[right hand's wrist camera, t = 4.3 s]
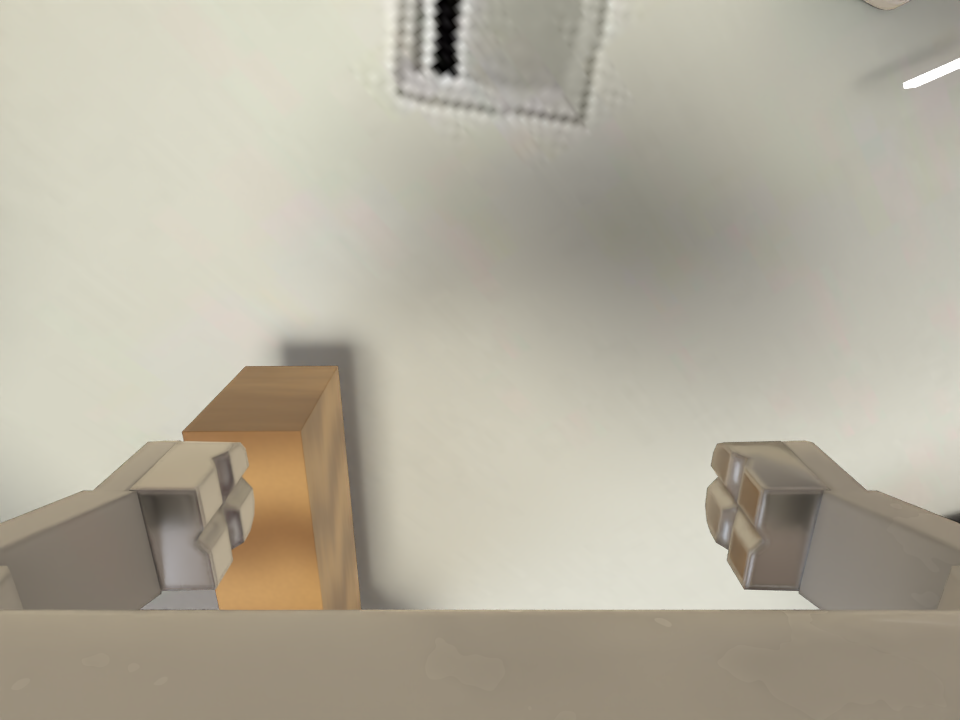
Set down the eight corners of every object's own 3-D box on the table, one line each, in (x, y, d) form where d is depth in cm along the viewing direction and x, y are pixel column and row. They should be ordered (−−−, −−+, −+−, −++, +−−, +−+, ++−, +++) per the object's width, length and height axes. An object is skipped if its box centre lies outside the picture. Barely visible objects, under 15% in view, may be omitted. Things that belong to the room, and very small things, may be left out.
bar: (245, 365, 36) (181, 431, 28) (338, 365, 36) (300, 431, 28) (296, 688, 46) (259, 803, 38) (368, 687, 46) (347, 802, 38)
